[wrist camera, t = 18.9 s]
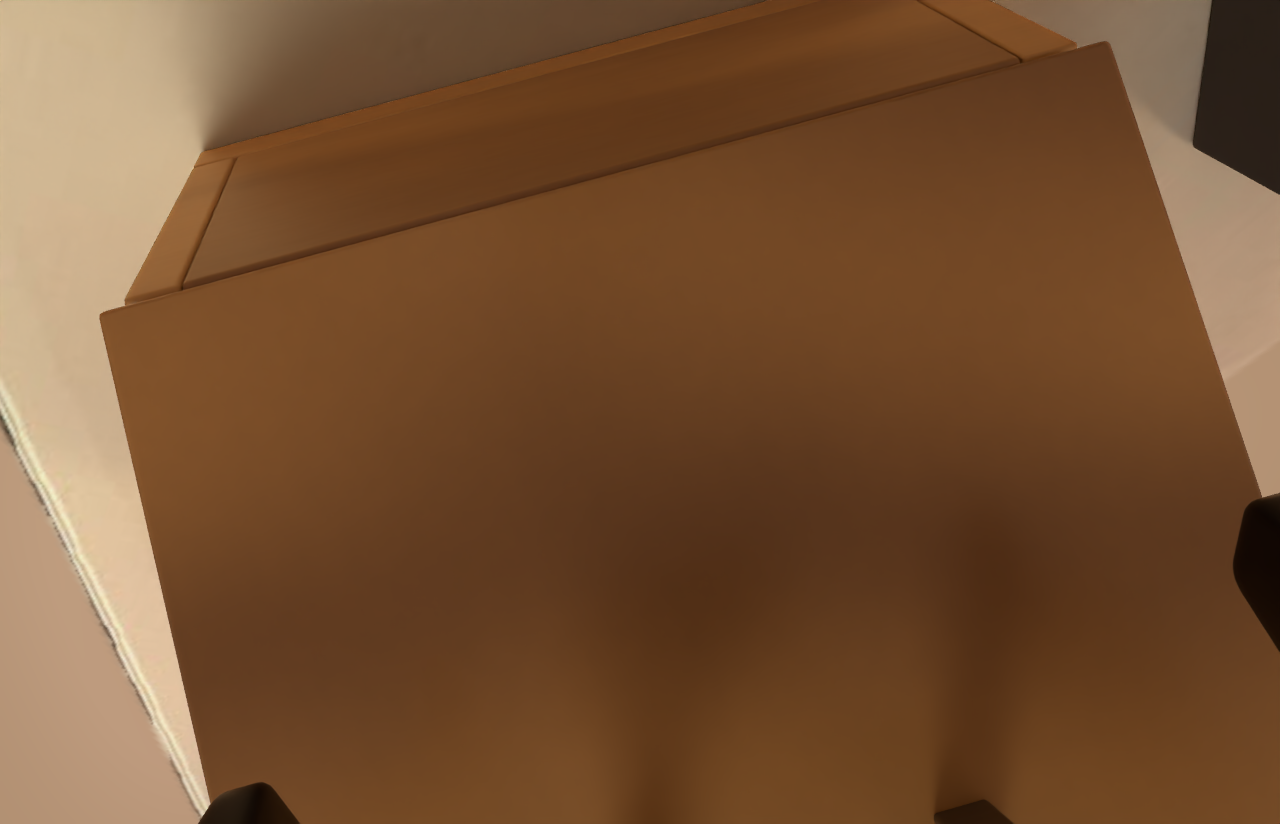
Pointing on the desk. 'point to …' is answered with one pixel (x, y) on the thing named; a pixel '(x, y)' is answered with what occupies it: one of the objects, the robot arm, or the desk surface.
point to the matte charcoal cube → (1242, 90)
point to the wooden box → (567, 125)
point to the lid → (726, 492)
